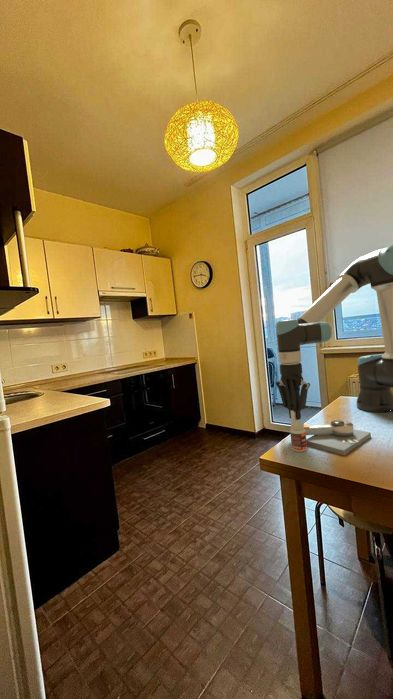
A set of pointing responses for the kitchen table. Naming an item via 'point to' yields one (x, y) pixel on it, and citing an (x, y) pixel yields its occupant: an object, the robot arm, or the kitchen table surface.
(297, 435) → the pill bottle
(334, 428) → the silver ladle
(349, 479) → the kitchen table surface
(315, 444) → the stand board
